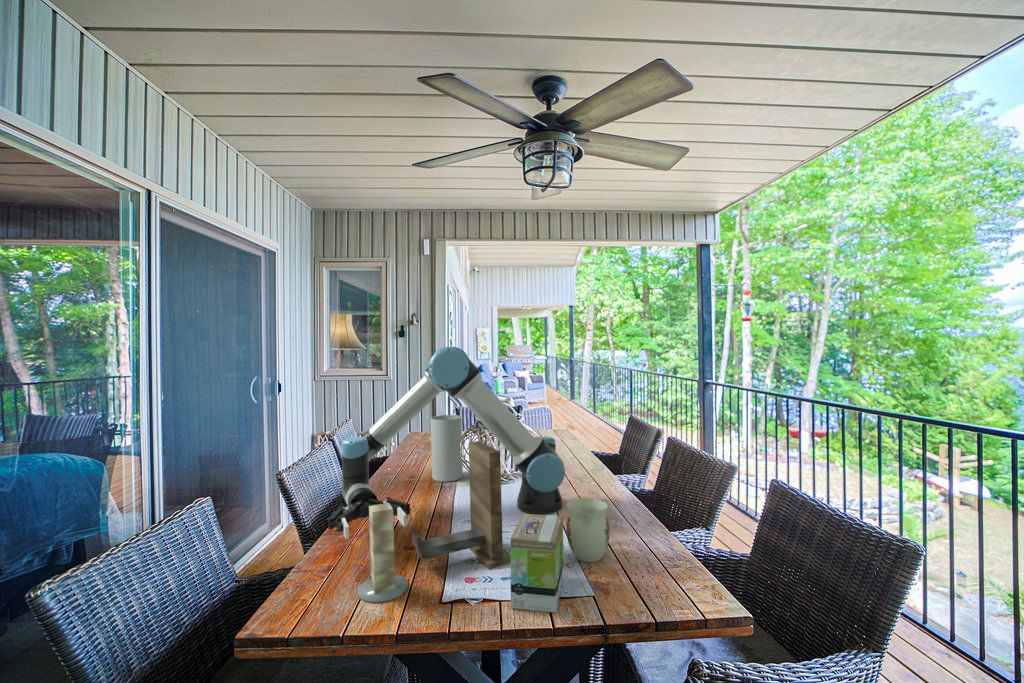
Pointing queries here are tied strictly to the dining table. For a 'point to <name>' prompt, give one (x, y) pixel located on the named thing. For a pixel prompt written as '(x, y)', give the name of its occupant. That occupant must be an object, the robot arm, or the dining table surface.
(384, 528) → the cedar rail
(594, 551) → the pitcher
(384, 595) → the slate coaster
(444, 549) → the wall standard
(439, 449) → the cylinder vase
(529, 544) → the tea box
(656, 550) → the dining table surface
